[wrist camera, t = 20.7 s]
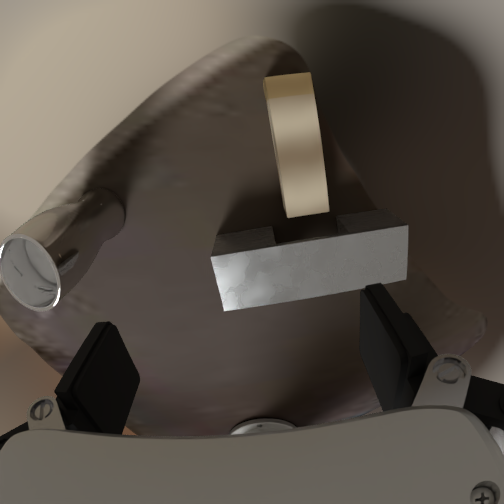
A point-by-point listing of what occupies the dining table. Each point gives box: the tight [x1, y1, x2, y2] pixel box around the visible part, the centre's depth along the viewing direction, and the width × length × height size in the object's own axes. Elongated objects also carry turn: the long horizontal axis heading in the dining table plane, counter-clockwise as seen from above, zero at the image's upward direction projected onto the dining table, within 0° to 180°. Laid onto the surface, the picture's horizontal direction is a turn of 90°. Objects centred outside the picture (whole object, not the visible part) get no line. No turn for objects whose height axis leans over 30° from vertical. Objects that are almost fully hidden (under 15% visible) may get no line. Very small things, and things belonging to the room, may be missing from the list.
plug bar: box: [263, 72, 329, 218], centre depth 29 cm, size 13×4×4 cm, turn 10°
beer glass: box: [0, 188, 125, 311], centre depth 26 cm, size 7×7×15 cm
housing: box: [211, 209, 408, 311], centre depth 32 cm, size 6×19×6 cm, turn 100°
